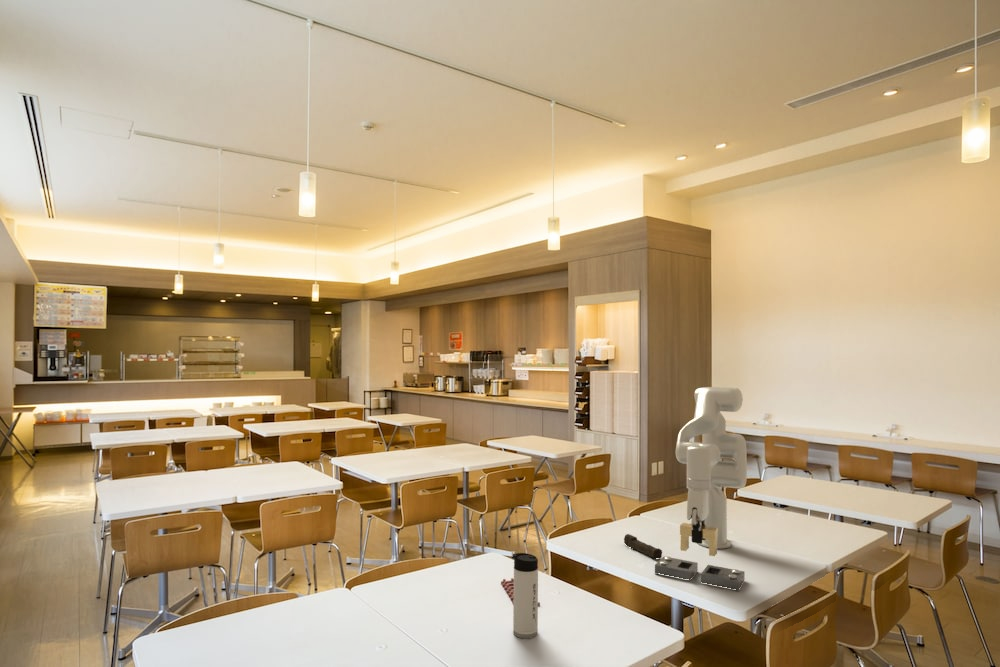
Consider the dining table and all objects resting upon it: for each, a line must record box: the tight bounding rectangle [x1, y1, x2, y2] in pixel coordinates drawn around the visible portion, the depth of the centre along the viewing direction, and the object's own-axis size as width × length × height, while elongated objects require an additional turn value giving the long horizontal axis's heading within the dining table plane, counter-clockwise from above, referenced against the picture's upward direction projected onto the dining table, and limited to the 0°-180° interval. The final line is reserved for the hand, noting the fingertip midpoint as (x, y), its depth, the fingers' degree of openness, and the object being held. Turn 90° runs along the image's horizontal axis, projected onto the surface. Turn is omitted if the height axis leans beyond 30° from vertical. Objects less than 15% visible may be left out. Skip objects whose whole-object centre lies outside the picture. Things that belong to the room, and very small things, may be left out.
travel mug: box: [512, 552, 539, 640], centre depth 152 cm, size 6×7×20 cm
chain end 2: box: [700, 564, 745, 591], centre depth 188 cm, size 10×11×4 cm
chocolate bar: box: [500, 577, 541, 607], centre depth 177 cm, size 7×19×2 cm, turn 13°
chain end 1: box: [654, 556, 699, 581], centre depth 196 cm, size 10×11×4 cm
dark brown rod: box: [623, 533, 663, 560], centre depth 217 cm, size 19×4×5 cm, turn 24°
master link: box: [679, 522, 718, 557], centre depth 192 cm, size 4×11×8 cm, turn 58°
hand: (698, 540), depth 192 cm, fingers closed on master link, 4 cm apart
